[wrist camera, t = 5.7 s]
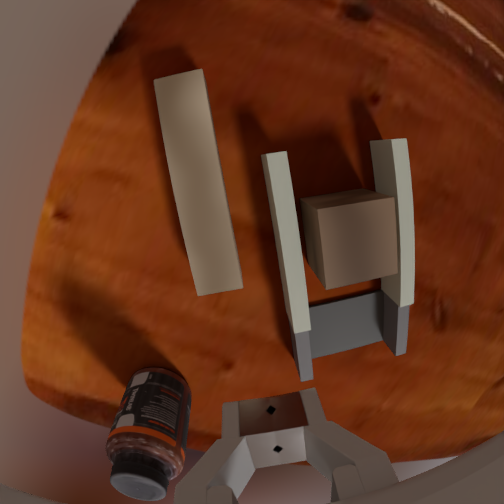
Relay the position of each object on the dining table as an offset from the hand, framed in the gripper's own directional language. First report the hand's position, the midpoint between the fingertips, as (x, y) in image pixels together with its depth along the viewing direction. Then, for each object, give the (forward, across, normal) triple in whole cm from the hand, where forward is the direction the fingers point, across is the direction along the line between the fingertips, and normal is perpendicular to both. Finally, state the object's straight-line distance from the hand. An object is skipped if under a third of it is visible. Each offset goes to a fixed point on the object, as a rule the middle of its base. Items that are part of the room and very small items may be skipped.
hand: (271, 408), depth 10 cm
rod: (+15, +2, -7) cm, 16 cm away
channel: (+15, -7, -2) cm, 16 cm away
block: (+15, -7, -2) cm, 16 cm away
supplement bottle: (+15, +10, +10) cm, 21 cm away
